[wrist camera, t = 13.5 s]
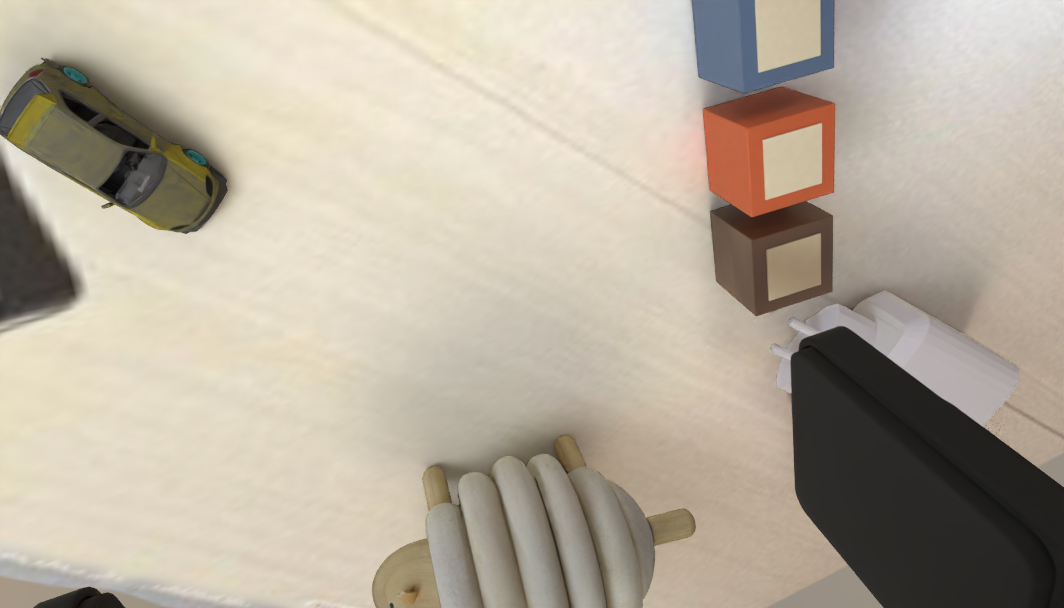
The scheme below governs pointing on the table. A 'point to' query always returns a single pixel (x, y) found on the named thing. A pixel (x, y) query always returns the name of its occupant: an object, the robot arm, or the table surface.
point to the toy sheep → (529, 540)
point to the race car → (109, 150)
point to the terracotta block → (770, 150)
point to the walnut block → (773, 255)
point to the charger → (916, 352)
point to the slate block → (762, 40)
